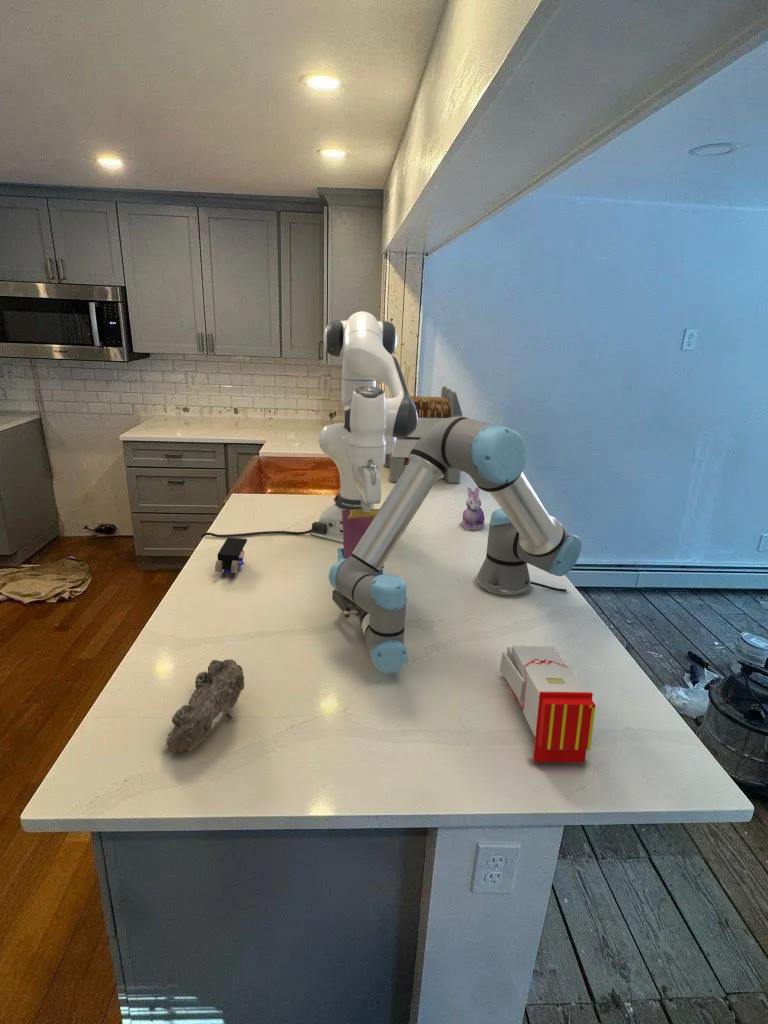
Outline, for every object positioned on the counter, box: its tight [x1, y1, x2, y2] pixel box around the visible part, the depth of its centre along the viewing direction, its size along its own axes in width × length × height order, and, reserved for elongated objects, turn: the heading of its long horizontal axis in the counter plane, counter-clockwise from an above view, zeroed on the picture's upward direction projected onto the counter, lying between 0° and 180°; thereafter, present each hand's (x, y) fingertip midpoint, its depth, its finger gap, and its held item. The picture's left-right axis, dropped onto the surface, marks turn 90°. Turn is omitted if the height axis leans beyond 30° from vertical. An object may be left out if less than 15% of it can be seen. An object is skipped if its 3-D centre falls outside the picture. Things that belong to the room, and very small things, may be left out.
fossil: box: [166, 658, 245, 754], centre depth 106 cm, size 22×10×15 cm
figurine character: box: [214, 537, 248, 578], centre depth 166 cm, size 7×8×15 cm
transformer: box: [383, 386, 463, 484], centre depth 268 cm, size 34×33×41 cm
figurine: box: [461, 486, 485, 531], centre depth 207 cm, size 9×10×15 cm
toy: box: [499, 645, 597, 764], centre depth 112 cm, size 12×13×30 cm
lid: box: [342, 508, 385, 569], centre depth 144 cm, size 16×10×9 cm
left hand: (365, 510), depth 141 cm, fingers closed, pressing on lid
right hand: (361, 579), depth 151 cm, fingers closed on chest, 10 cm apart
